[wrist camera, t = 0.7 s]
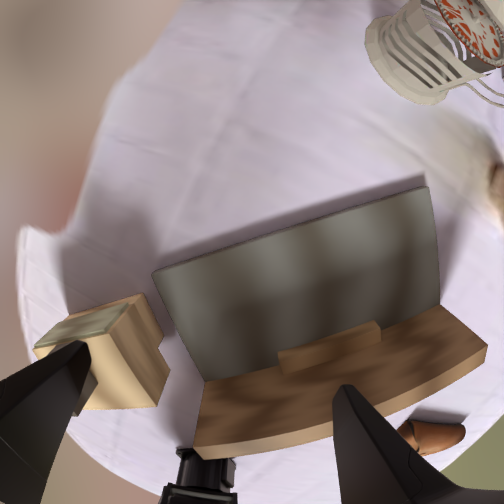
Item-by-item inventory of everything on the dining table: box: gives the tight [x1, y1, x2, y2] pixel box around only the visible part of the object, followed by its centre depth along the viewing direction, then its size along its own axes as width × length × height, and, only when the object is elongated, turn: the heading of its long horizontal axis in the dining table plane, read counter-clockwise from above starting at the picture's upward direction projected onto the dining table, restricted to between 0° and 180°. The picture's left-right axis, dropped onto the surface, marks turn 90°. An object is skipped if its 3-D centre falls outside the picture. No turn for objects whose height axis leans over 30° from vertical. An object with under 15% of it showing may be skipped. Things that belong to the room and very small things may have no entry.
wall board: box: [151, 186, 488, 460], centre depth 19 cm, size 24×14×9 cm, turn 108°
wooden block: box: [32, 293, 170, 417], centre depth 19 cm, size 10×7×11 cm
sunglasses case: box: [396, 420, 466, 456], centre depth 29 cm, size 18×7×7 cm
